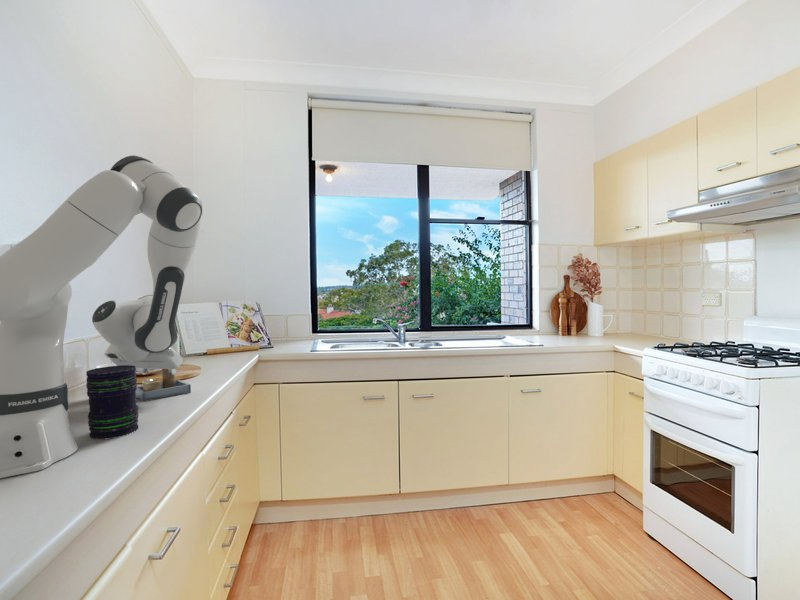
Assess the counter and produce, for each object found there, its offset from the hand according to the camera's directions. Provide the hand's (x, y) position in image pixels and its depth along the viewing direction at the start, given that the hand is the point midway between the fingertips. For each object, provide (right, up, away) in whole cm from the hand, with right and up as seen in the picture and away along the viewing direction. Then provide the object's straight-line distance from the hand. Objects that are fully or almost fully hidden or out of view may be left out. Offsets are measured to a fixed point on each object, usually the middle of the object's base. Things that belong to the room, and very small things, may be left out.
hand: (160, 372), depth 135 cm
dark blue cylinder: (+8, -8, -34) cm, 36 cm away
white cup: (-15, -8, -1) cm, 17 cm away
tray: (0, -7, +2) cm, 7 cm away
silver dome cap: (-4, -6, +1) cm, 8 cm away
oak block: (-1, -6, -2) cm, 7 cm away
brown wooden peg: (+1, -6, +3) cm, 7 cm away
